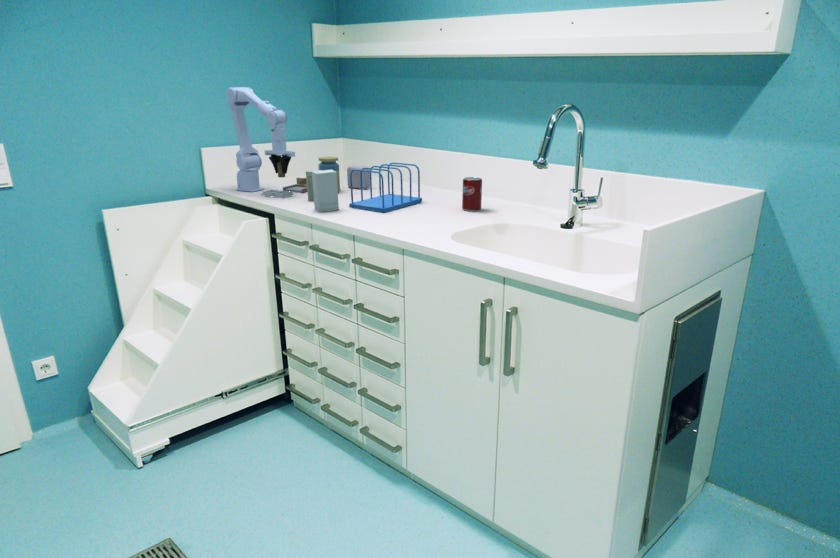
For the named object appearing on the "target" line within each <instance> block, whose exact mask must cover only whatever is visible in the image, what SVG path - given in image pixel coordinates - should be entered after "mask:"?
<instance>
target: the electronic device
mask: <svg viewBox="0 0 840 558" xmlns="http://www.w3.org/2000/svg"><path fill="white" fill-rule="evenodd" d="M363 168H370V167H369V166H366V165H355V164H353V165H349V166H347V169H346V171H347V172H346V173H347V187H348V188H349V187H350V188H349V189H351V184H350V173H351V171H352V170H354V169H357V170H362V169H363ZM364 170H368V171H370V169H364ZM360 172H361V171H353V173H352V189H355V188H359V189H358V190H361V180H360ZM362 188H363V190H367V189H366V188H368V189H370V172H362Z"/></svg>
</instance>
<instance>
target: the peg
mask: <svg viewBox="0 0 840 558" xmlns="http://www.w3.org/2000/svg"><path fill="white" fill-rule="evenodd" d="M277 168H278V173H277V176H278V178H286V174H283V173H282V167H281V162H277Z"/></svg>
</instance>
